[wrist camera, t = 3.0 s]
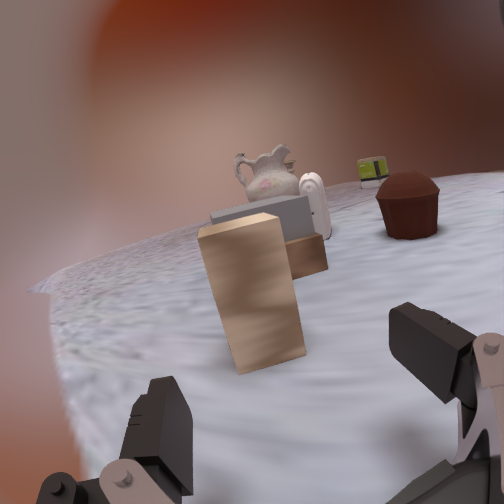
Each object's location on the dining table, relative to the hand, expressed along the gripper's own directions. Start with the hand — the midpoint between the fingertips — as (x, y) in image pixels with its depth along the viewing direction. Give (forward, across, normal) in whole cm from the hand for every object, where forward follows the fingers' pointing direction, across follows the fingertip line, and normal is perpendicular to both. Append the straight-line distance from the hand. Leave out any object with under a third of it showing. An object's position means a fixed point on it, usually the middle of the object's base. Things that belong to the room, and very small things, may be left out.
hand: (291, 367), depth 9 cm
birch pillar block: (+11, 0, +6) cm, 13 cm away
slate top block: (+31, -4, +2) cm, 32 cm away
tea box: (+113, -80, +6) cm, 139 cm away
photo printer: (+43, -18, +6) cm, 47 cm away
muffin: (+28, -29, +6) cm, 41 cm away
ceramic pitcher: (+90, -20, +6) cm, 93 cm away
